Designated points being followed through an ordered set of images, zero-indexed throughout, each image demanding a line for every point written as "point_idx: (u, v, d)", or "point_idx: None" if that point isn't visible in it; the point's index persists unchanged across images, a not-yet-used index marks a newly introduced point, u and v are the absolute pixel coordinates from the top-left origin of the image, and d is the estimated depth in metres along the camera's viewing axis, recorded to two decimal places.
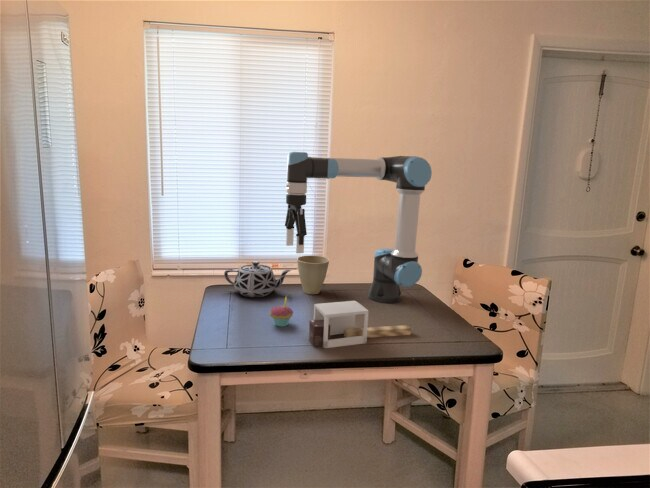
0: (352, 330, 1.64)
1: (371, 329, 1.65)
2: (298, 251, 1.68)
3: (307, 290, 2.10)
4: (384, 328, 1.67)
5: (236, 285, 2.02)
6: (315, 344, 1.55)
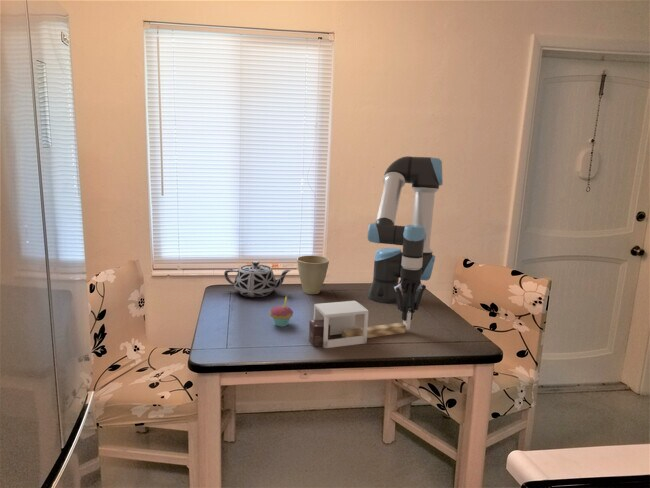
0: (350, 331, 1.62)
1: (368, 329, 1.65)
2: None
3: (307, 290, 2.10)
4: (380, 327, 1.67)
5: (236, 285, 2.02)
6: (315, 344, 1.55)
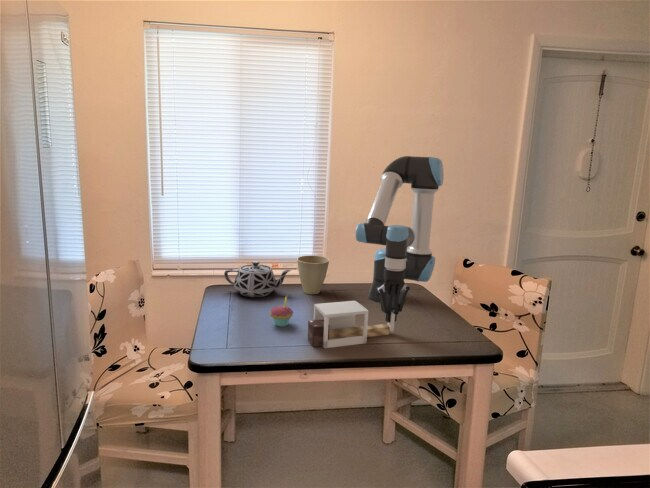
0: (332, 331, 1.61)
1: (350, 330, 1.63)
2: None
3: (307, 290, 2.10)
4: None
5: (236, 285, 2.02)
6: (314, 344, 1.54)
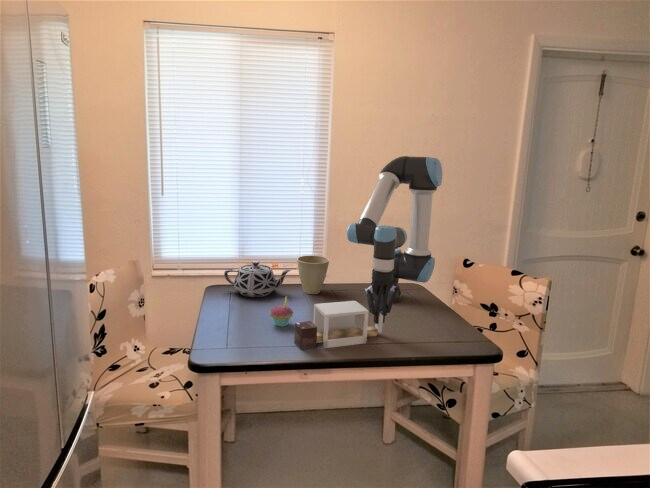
0: (318, 334, 1.59)
1: (337, 332, 1.61)
2: None
3: (307, 290, 2.10)
4: (350, 331, 1.63)
5: (236, 285, 2.02)
6: (302, 347, 1.52)
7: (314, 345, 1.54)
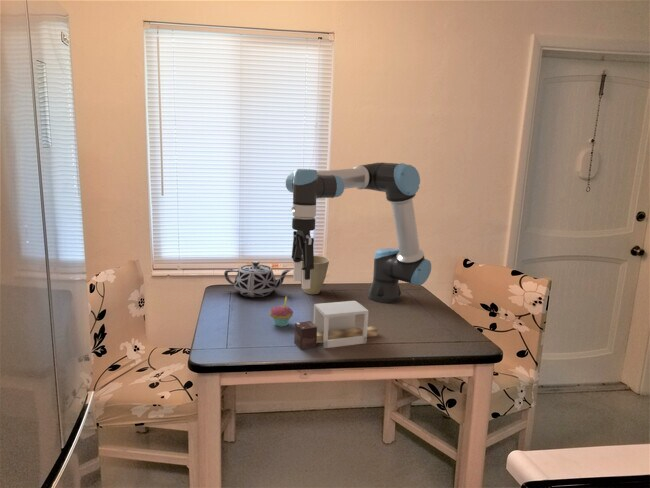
0: (319, 334, 1.59)
1: (337, 332, 1.61)
2: (304, 286, 1.47)
3: (307, 290, 2.10)
4: (350, 331, 1.63)
5: (236, 285, 2.02)
6: (302, 347, 1.52)
7: (314, 345, 1.54)
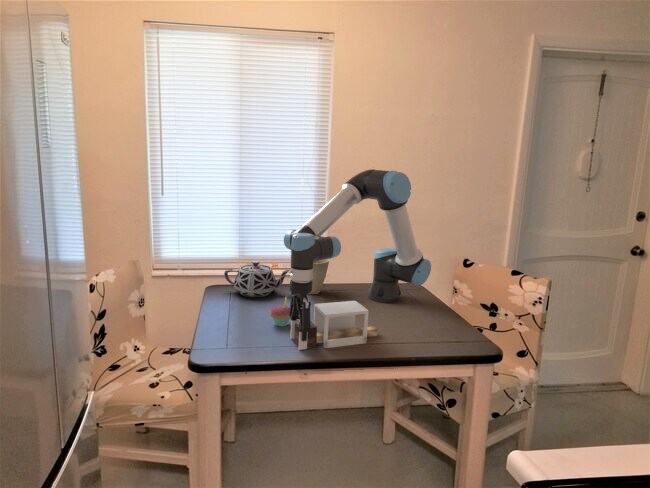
0: (319, 334, 1.59)
1: (338, 332, 1.61)
2: (301, 347, 1.51)
3: None
4: (350, 331, 1.63)
5: (236, 285, 2.02)
6: None
7: (314, 345, 1.54)
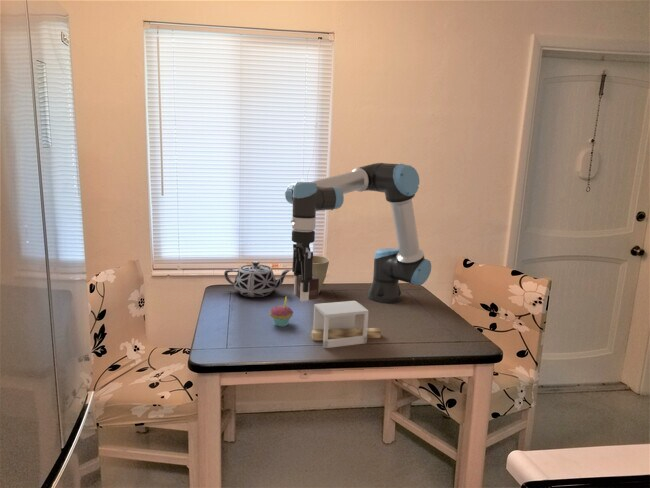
0: (319, 331, 1.61)
1: (338, 331, 1.62)
2: (302, 299, 1.49)
3: None
4: (352, 331, 1.63)
5: (236, 285, 2.02)
6: None
7: (316, 297, 1.52)
